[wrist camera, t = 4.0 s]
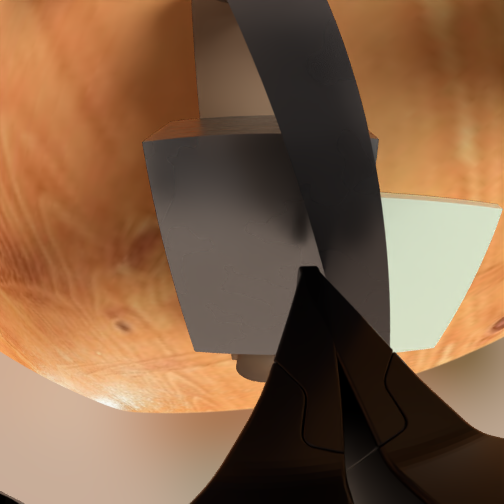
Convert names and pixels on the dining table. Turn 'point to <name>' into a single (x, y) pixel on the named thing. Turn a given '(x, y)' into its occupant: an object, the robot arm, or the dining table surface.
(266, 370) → the body
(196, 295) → the flat grey slab block
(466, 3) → the dining table surface
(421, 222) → the mat
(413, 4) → the dining table surface
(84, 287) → the dining table surface
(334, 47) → the lever
